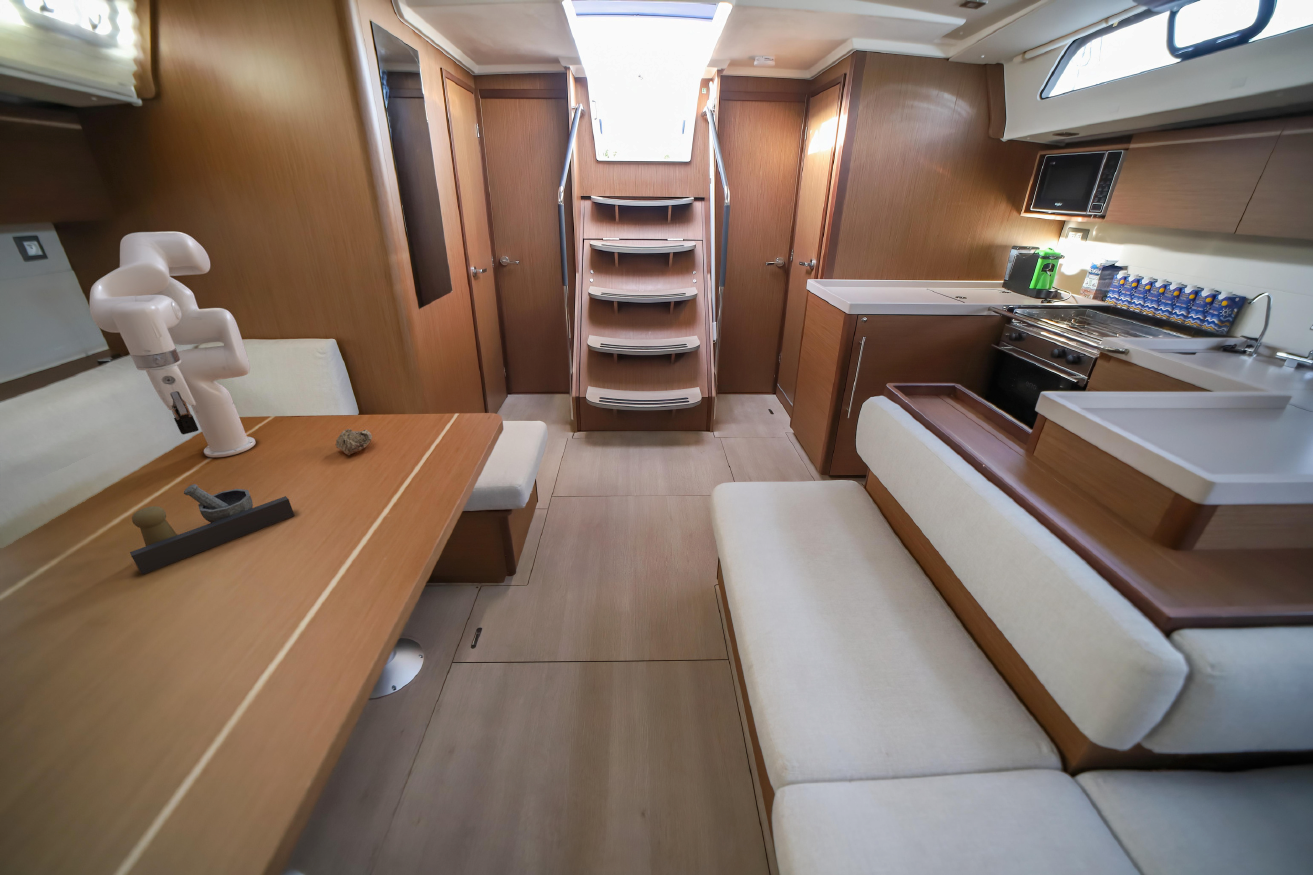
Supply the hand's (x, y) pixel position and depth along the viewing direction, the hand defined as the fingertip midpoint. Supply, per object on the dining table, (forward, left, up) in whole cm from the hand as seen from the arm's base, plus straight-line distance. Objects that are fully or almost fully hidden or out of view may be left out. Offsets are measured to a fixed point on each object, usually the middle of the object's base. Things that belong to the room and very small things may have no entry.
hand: (189, 431), depth 121 cm
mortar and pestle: (+14, -1, -20) cm, 25 cm away
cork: (+16, -13, -20) cm, 29 cm away
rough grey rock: (-4, +35, -20) cm, 41 cm away
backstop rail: (+21, -4, -20) cm, 29 cm away
